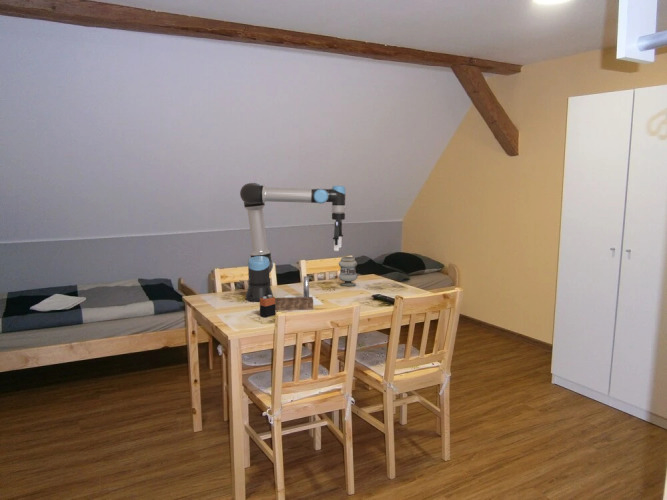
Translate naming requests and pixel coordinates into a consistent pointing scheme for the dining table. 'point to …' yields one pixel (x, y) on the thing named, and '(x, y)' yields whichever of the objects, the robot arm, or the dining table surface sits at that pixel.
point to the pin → (306, 286)
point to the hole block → (294, 303)
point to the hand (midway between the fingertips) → (337, 249)
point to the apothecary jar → (348, 271)
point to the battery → (267, 306)
